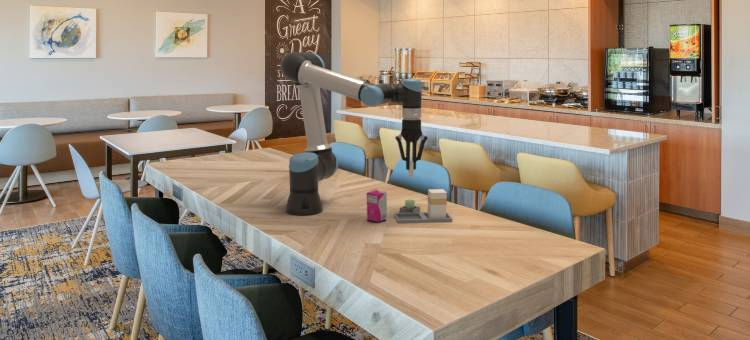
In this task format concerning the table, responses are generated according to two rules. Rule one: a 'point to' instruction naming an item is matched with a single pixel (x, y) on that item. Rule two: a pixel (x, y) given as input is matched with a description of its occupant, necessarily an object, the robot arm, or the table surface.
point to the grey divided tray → (419, 218)
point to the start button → (409, 204)
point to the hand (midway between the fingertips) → (410, 177)
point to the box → (437, 203)
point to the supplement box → (376, 206)
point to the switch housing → (409, 210)
